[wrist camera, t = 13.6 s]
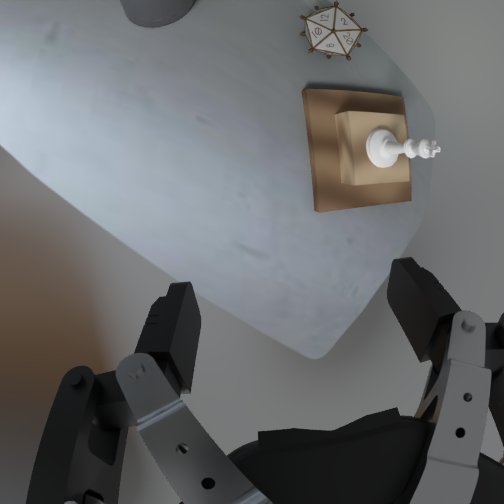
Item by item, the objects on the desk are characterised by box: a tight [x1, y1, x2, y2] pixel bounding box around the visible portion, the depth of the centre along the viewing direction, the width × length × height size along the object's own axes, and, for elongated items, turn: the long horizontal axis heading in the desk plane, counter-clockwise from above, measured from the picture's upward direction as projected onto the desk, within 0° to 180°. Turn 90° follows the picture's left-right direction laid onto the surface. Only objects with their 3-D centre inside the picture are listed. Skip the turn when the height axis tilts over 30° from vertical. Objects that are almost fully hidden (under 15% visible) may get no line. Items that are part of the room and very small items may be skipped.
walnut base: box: [302, 89, 411, 213], centre depth 33 cm, size 16×16×5 cm
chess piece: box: [366, 129, 441, 168], centre depth 26 cm, size 5×5×10 cm
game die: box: [299, 1, 368, 61], centre depth 26 cm, size 9×8×10 cm
